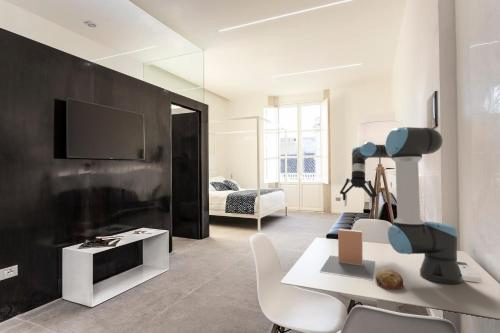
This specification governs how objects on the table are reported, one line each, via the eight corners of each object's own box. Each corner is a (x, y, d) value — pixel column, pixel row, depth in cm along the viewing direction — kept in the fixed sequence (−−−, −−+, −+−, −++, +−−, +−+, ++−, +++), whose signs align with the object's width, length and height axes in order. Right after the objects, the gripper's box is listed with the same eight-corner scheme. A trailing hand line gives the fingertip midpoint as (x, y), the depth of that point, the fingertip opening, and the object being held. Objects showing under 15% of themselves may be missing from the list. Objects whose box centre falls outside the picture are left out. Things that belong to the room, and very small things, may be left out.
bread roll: (373, 290, 118) (367, 273, 117) (390, 276, 121) (384, 260, 120) (393, 300, 108) (386, 282, 107) (411, 285, 112) (404, 268, 111)
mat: (330, 256, 151) (330, 255, 151) (375, 262, 142) (375, 261, 142) (319, 272, 128) (319, 271, 128) (373, 280, 118) (373, 279, 118)
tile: (339, 260, 142) (339, 228, 143) (362, 263, 138) (362, 230, 138) (338, 262, 140) (338, 229, 140) (362, 265, 135) (362, 232, 135)
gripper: (378, 176, 170) (378, 211, 163) (335, 172, 174) (334, 206, 167) (382, 172, 163) (383, 208, 156) (337, 168, 167) (336, 203, 160)
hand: (357, 207), depth 162 cm, fingers open, 13 cm apart
